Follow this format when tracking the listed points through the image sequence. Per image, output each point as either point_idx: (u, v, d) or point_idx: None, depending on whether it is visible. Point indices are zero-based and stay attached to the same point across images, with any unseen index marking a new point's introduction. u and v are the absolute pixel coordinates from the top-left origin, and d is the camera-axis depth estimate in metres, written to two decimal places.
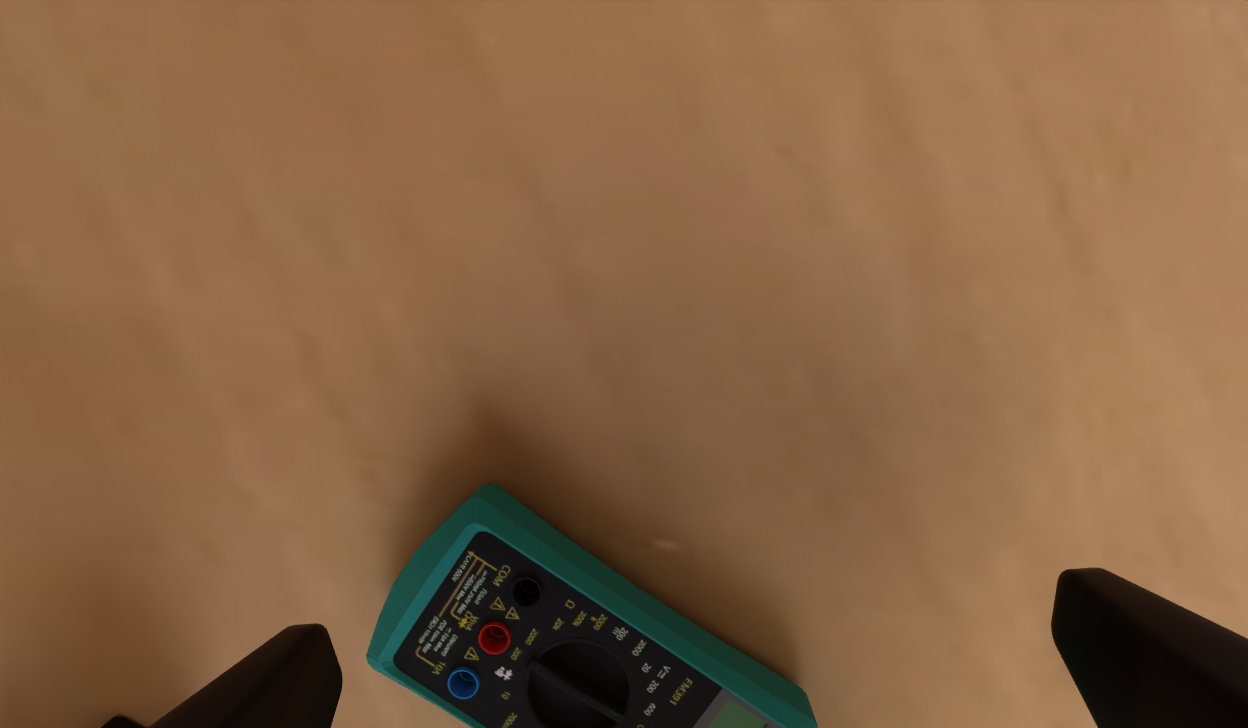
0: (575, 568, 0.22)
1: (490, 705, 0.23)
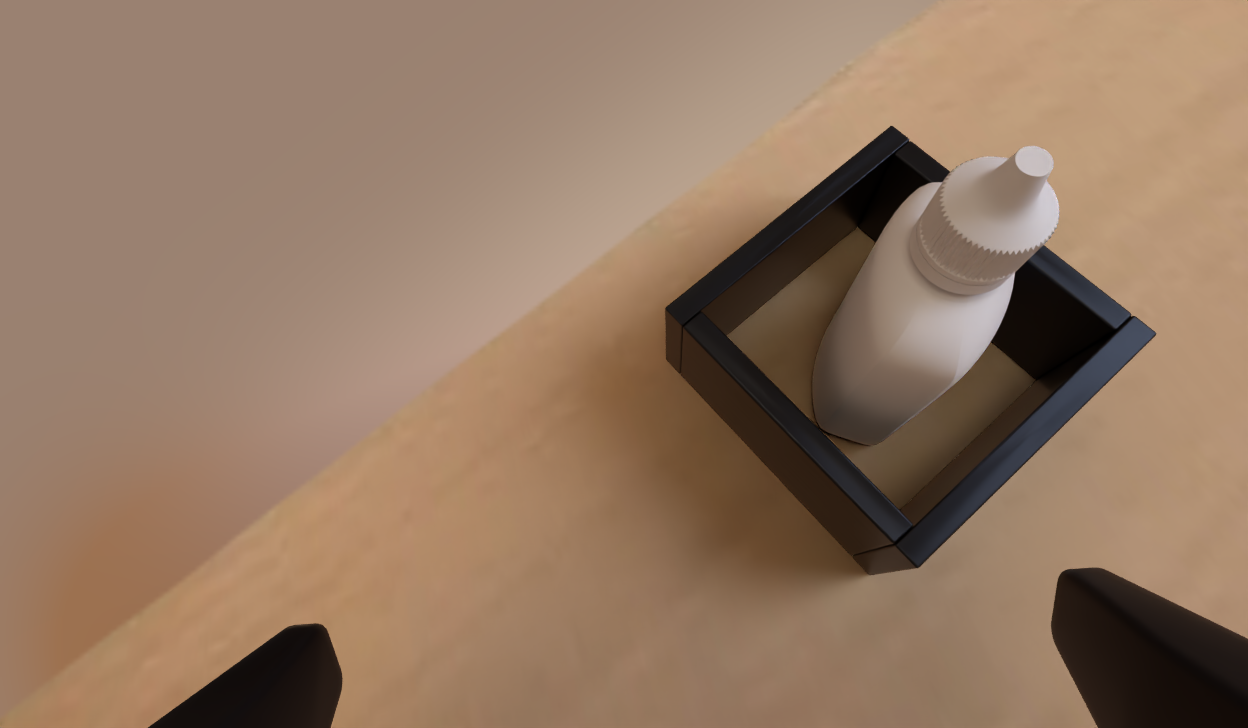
0: None
1: None
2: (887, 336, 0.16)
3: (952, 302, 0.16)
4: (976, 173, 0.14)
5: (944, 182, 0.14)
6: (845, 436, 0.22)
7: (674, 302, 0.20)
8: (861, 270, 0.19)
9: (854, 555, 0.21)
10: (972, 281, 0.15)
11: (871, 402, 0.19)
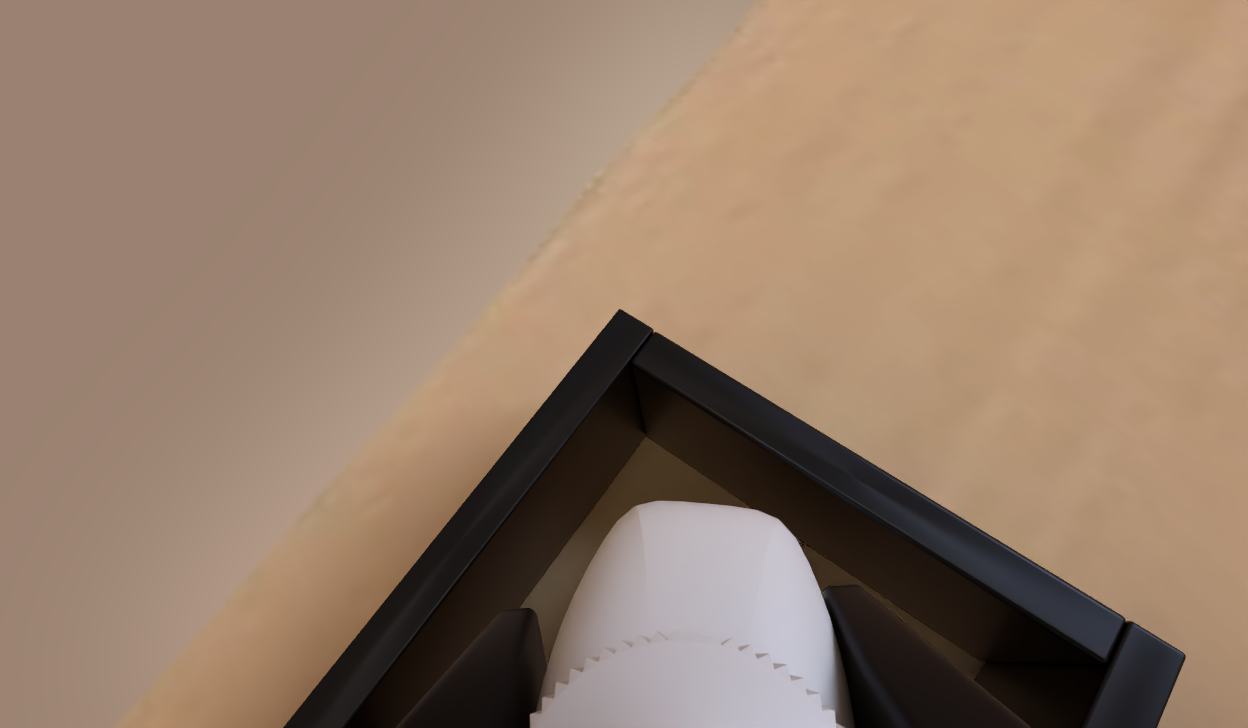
0: None
1: None
2: None
3: None
4: None
5: None
6: None
7: None
8: None
9: None
10: None
11: None
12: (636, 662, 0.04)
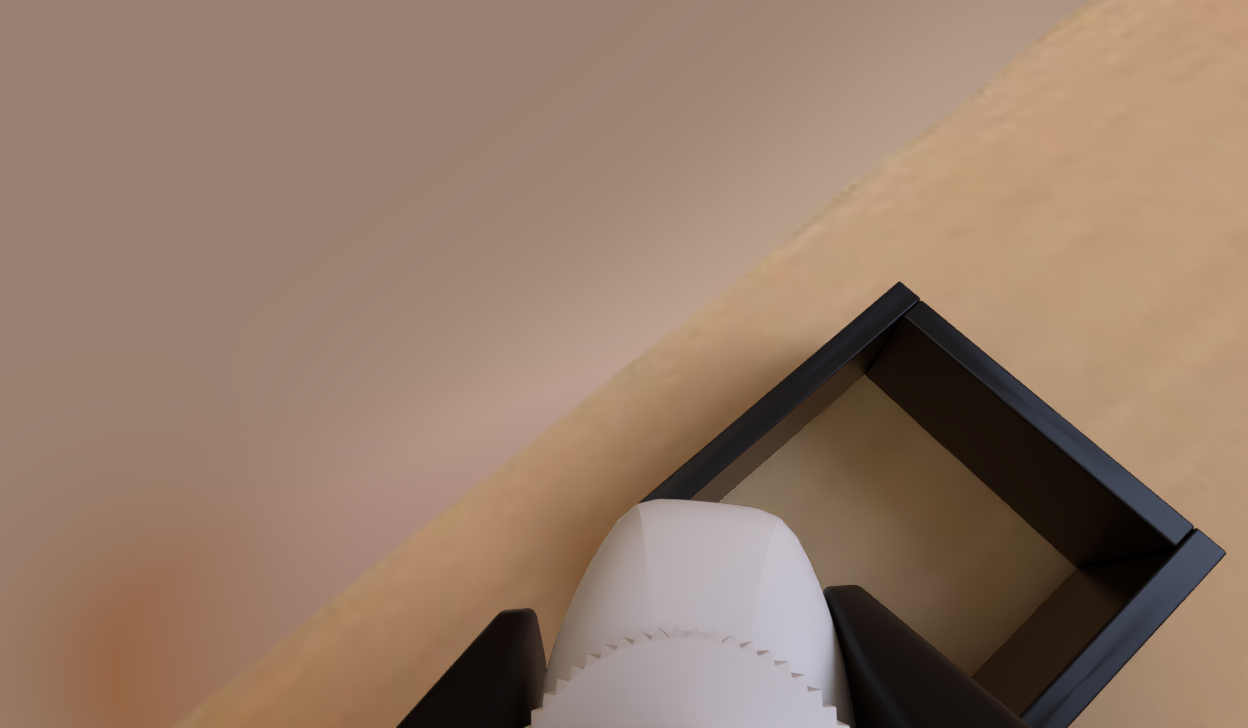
0: None
1: None
2: None
3: None
4: None
5: None
6: None
7: (647, 498, 0.17)
8: None
9: None
10: None
11: None
12: (637, 659, 0.04)
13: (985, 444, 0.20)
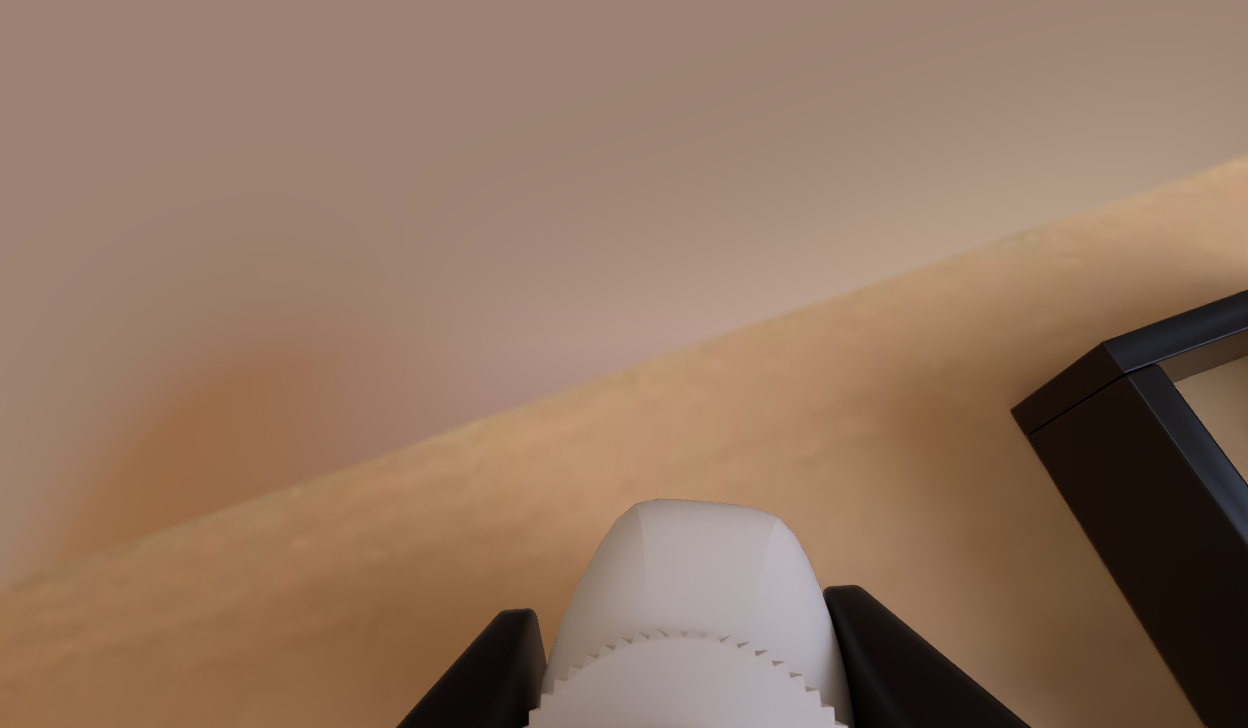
0: None
1: None
2: None
3: None
4: None
5: None
6: None
7: (1118, 339, 0.14)
8: None
9: None
10: None
11: None
12: (635, 659, 0.04)
13: None
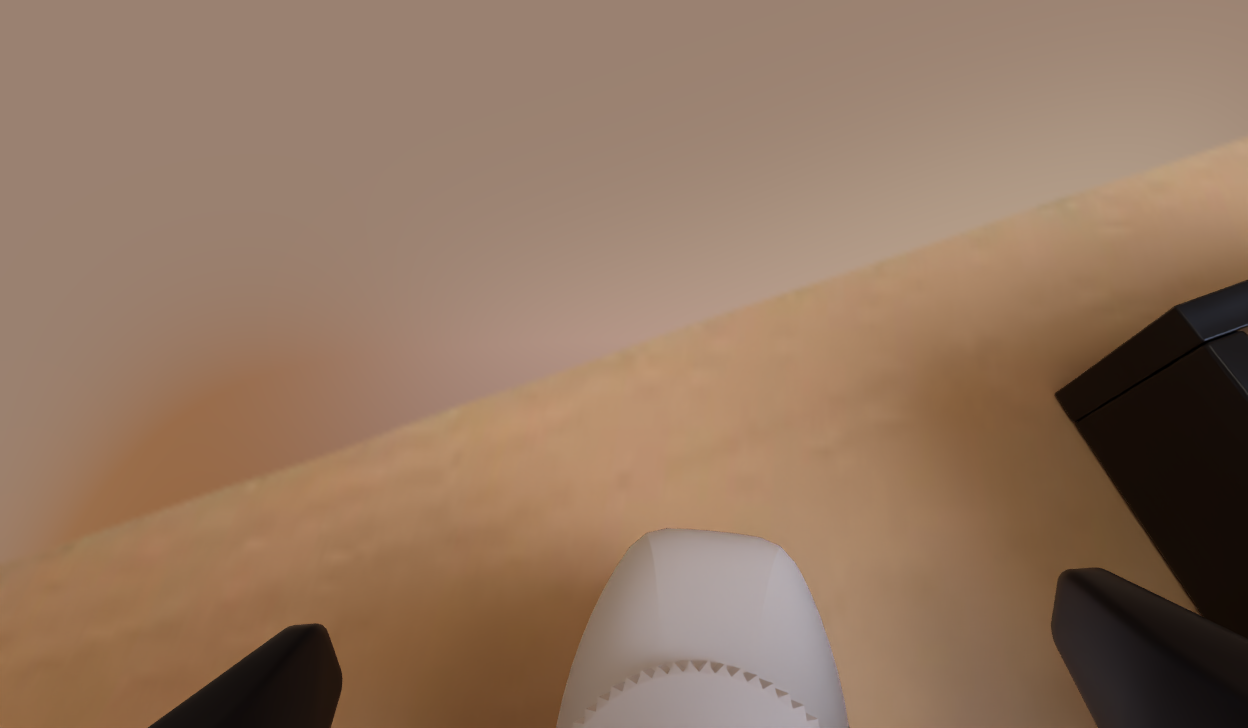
0: None
1: None
2: None
3: None
4: None
5: None
6: None
7: (1194, 302, 0.12)
8: None
9: None
10: None
11: None
12: (656, 692, 0.05)
13: None
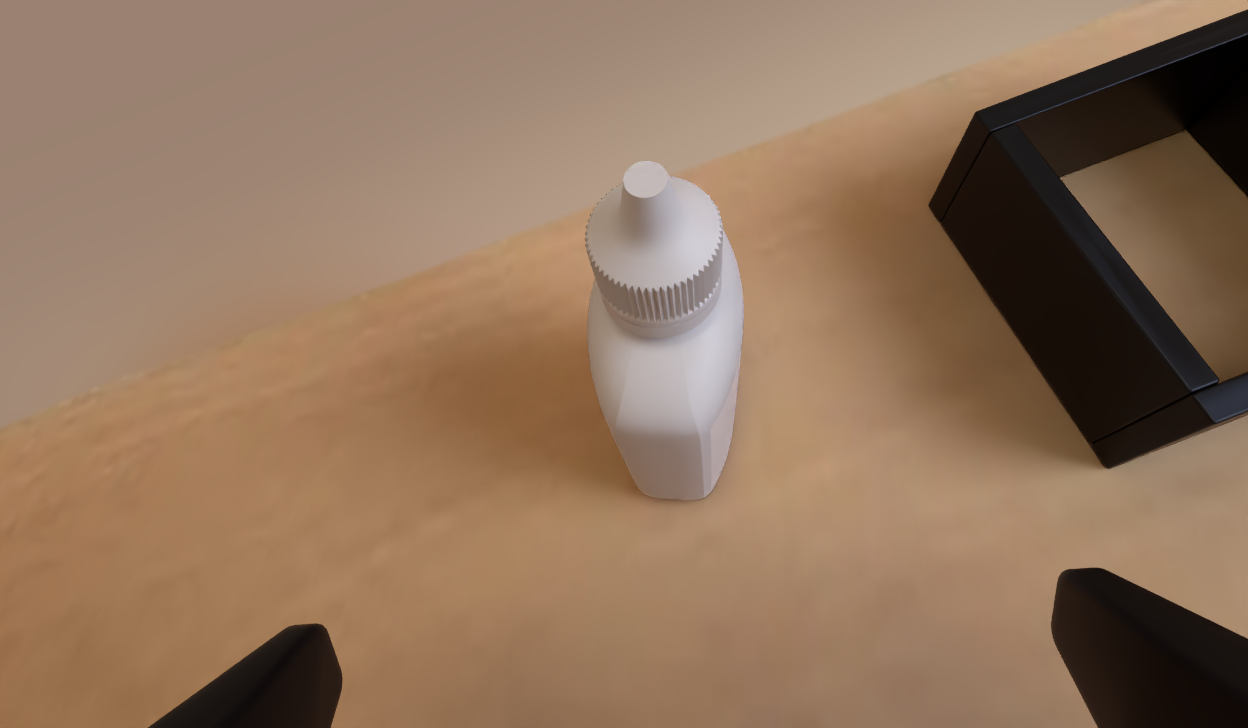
0: None
1: None
2: (609, 403, 0.14)
3: (665, 347, 0.13)
4: (616, 203, 0.12)
5: (590, 220, 0.12)
6: (669, 497, 0.20)
7: (987, 108, 0.19)
8: None
9: (1096, 442, 0.19)
10: (662, 323, 0.12)
11: (651, 467, 0.16)
12: None
13: None
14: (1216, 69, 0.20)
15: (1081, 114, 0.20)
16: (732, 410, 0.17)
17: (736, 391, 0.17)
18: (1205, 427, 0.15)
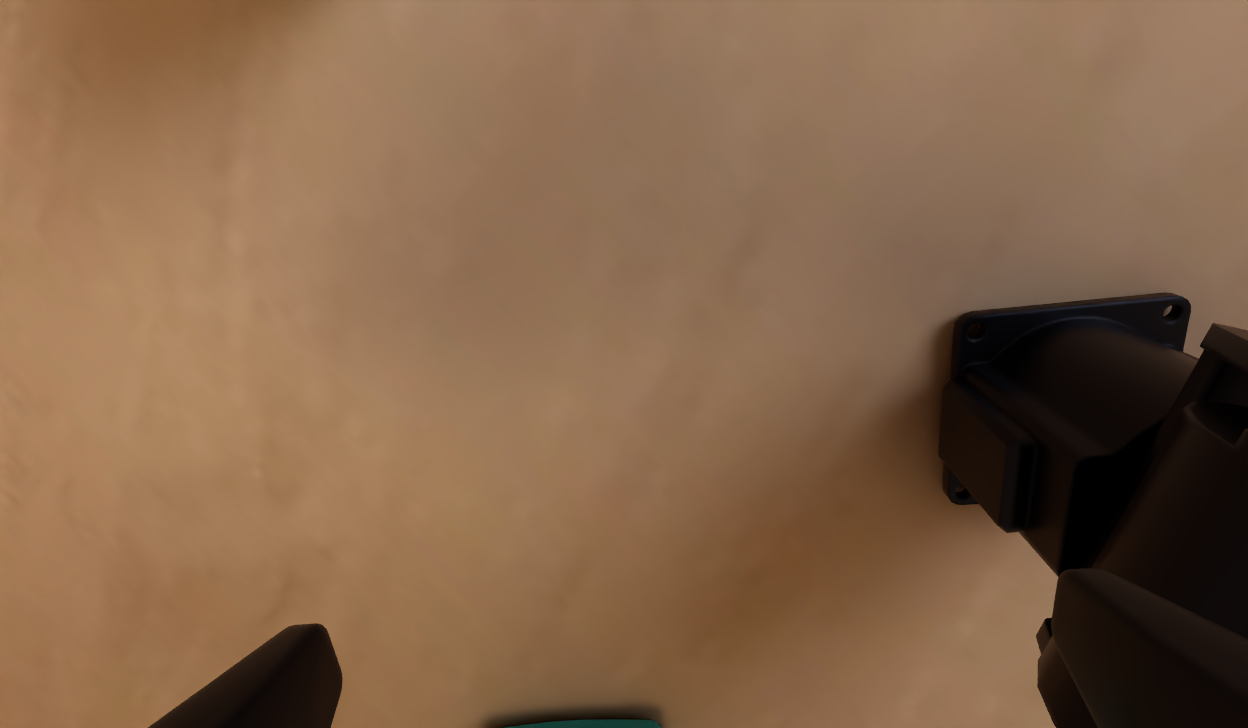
0: None
1: None
2: None
3: None
4: None
5: None
6: None
7: None
8: None
9: None
10: None
11: None
12: None
13: None
14: None
15: None
16: None
17: None
18: None
